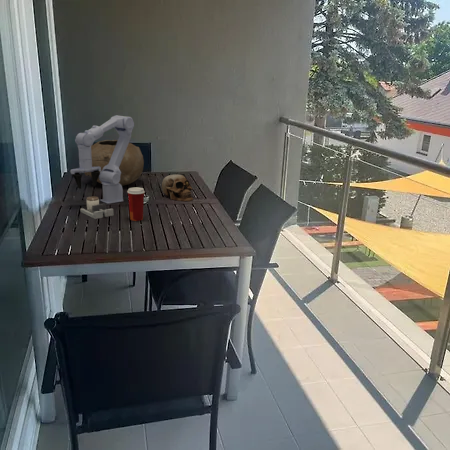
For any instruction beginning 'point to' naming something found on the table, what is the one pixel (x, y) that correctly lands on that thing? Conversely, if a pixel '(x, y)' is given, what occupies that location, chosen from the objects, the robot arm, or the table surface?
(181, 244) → the table surface
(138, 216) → the paper cup
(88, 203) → the jar
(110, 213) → the lane
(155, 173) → the table surface
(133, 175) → the ceramic pot
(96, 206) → the pusher
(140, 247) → the table surface
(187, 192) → the tan skull
